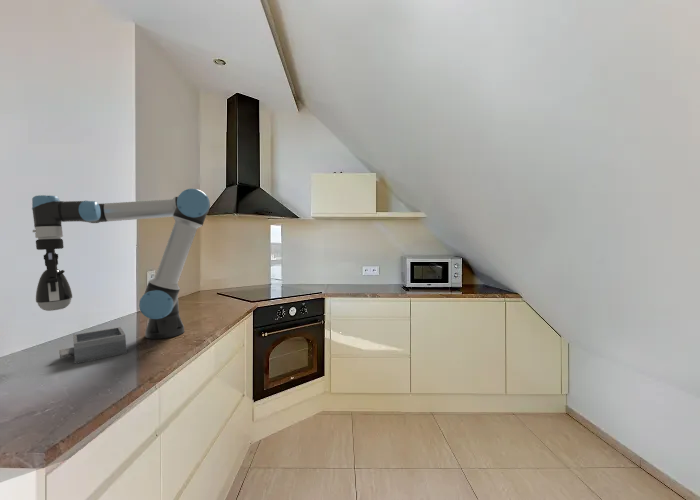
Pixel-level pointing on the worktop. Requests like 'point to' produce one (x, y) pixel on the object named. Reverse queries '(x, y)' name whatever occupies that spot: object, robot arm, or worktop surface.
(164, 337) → the robot arm
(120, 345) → the block
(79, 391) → the worktop surface
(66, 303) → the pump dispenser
